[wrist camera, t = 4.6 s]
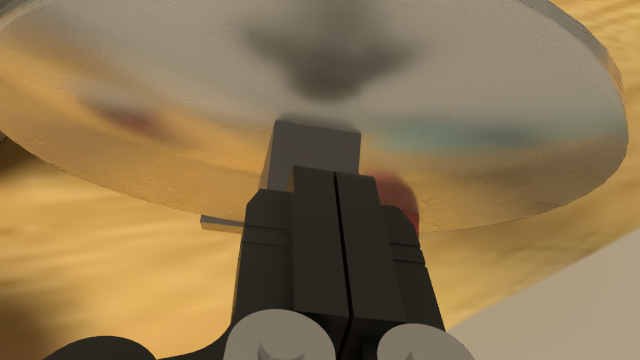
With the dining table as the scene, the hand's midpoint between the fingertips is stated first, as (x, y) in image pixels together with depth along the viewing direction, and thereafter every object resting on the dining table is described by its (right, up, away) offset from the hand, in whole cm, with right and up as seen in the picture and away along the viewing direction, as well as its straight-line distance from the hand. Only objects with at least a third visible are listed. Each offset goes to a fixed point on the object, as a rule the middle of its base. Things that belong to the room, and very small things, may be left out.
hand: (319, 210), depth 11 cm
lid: (0, +2, +5) cm, 6 cm away
